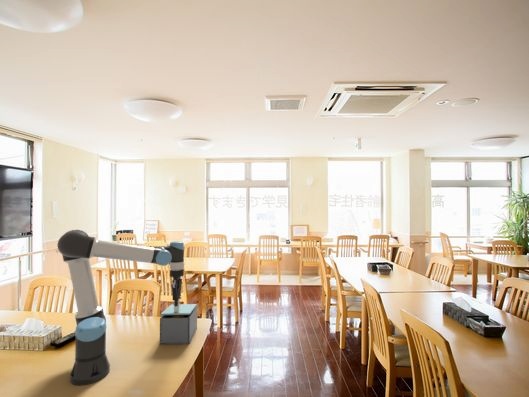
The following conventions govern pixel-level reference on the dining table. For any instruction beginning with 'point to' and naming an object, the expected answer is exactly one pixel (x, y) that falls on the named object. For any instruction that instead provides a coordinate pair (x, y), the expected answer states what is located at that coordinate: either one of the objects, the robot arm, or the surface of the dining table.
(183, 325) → the box
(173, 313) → the lid
